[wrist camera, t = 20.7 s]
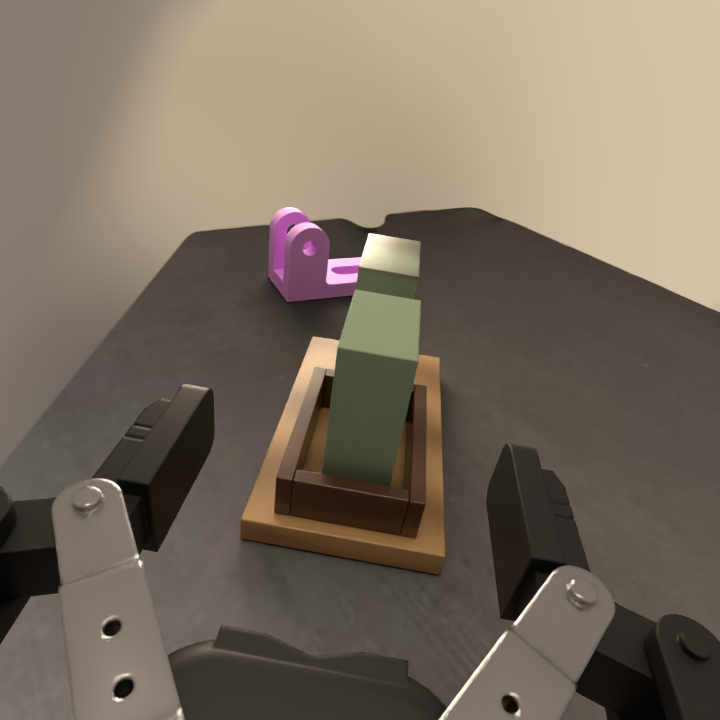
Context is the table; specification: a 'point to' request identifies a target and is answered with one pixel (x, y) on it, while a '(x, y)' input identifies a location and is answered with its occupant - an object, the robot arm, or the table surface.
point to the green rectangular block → (372, 386)
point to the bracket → (306, 260)
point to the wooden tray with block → (348, 496)
